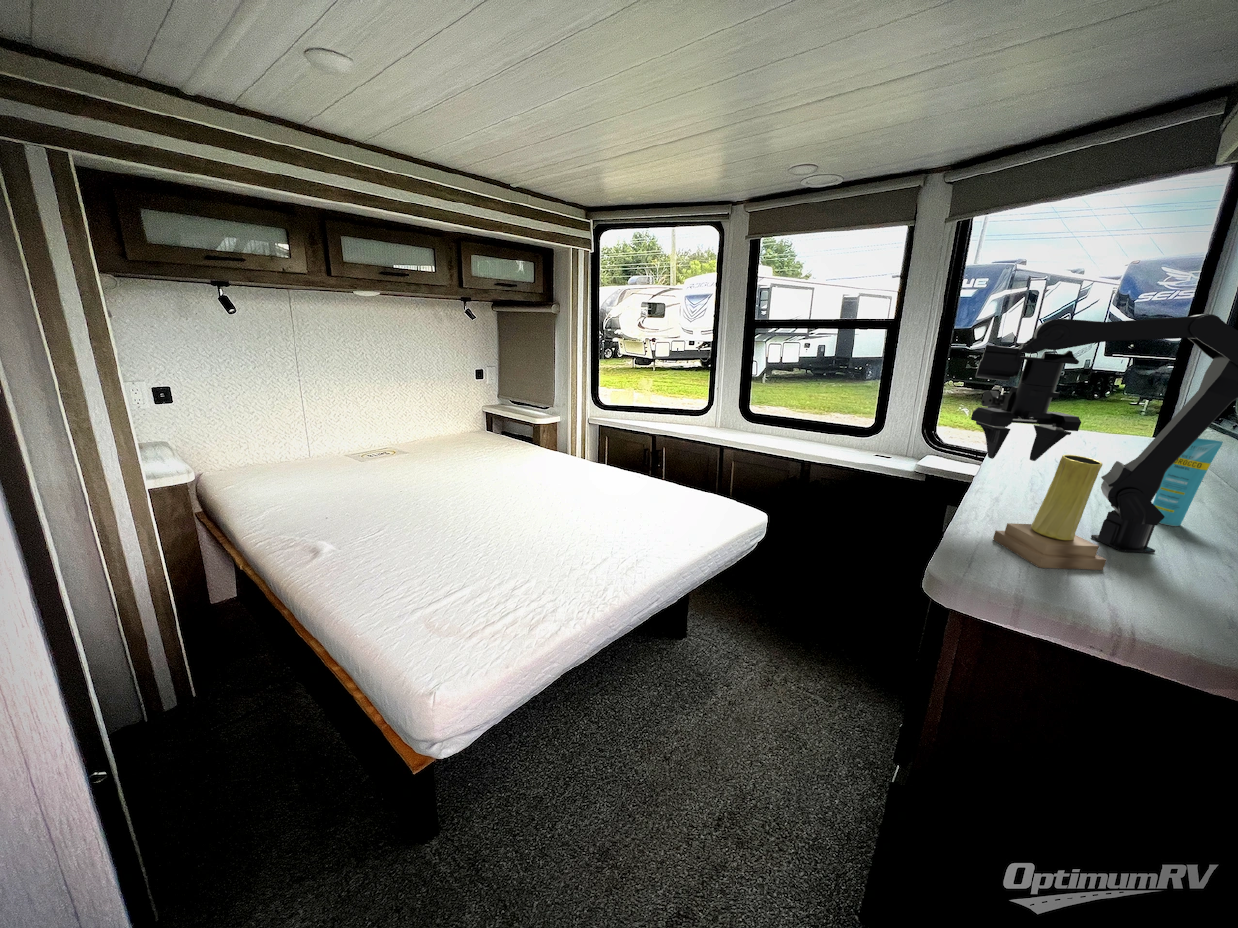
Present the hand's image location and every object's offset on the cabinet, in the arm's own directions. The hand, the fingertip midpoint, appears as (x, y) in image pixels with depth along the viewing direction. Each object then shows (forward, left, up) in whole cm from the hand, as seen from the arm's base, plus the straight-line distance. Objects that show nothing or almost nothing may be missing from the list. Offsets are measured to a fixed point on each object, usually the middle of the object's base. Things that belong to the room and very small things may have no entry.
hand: (1011, 459), depth 100 cm
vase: (+3, +16, -10) cm, 19 cm away
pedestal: (+3, +16, -14) cm, 21 cm away
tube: (-38, -2, -14) cm, 41 cm away
